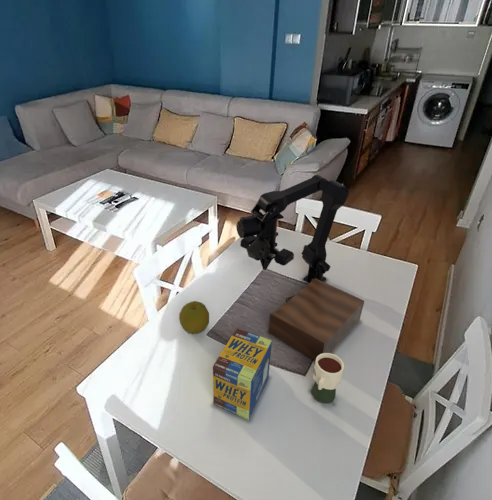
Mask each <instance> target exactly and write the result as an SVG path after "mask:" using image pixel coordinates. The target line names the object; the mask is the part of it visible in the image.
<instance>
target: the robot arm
mask: <svg viewBox="0 0 492 500" xmlns="http://www.w3.org/2000/svg"><path fill="white" fill-rule="evenodd" d="M320 191H321V202H322V208H321V210H320V214H319V217H318V221H317V224H316V227H315V230H314V233H313V237H312V240H311V242H309V243H308V244H304V245H303V249H302V252H301V258H302V260H303V261H304V262H305V263H306V264H307V265H308V270H307V275H305V276H304V277H303V279H302V280H303V281H304V282H307V283H308V284H309V283H310V282H311V280H312V279H315V278H316V279H318V280H320V281H323V282H325V281H326V280H327V277H325V276H324V274H326V273H327V272H329V271H330V270H331V265H330V264H329V263H328V262H326V260H327V255H328V254H327V249H326V248H327V247H326V245H327V242H328V239H329V236H330V233H331V231H332V227H333V224H334V221H335V219H336V215H337V212H338V210H340V208H342V207H343V206H344V205H345V203H346V200H347V199H348V197H349V195H350V190H349V188H348V187H347V186H345V185H344V184H342V183H340V182H338V181H336V180H334V179H331V180H328V179H327V178H326V177H323V176H321V175H319V174H314V175H313V176H312V177H310V178H308V179H306V180H303V181H301V182H299V183H297V184H295V185H292V186H290V187H288V188H285V189H283V190H272V191H268V192H264V193H262V194H261V195H260V196H259V198H258V200H257V202H255V204H254V206H253V207H252V209H251V211H250V213H251V214H252V215H247V216H240V217H239V220H237V223H236V225H235V226H236V227H235V228H236V232H237V235H238V237H239V238H240V242H239V243H240V244H239V246H240V247H241V248H243V249H244V250H246V253H247V256H248V257H249V258H251V259H253V260H255V261H260V265H261V267H262V270H264V271H266V270H267V269H268V268H269V266H270V265H271V263H272V261H273V260H274V262H275V263H276V264H279V265H280V266H286V265H288V264H289V263H290V262H291V261H293V260H294V257H295V253H294V252H293V251H292V250H290V249H286V248H282V249H280V248H278V242H277V241H276V240H277V237H278V236H279V232H278V231H277V227H278V220H281V219H284V218H285V217H284V215H282V214H281V213H283V212H285V210H286V209H287V207H288V206H290V205H291V204H293V203H295V202H297V201H300V200H302V199H304V198H307V197H309V196H312V195H313V194H315V193H317V192H320ZM261 211H262V212H261ZM263 213H264V214H263Z"/></svg>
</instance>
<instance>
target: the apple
mask: <svg viewBox="0 0 492 500" xmlns="http://www.w3.org/2000/svg"><path fill="white" fill-rule="evenodd" d="M178 316H179V317H178V319H179V324H180V326H181V327H182V329H183V330H184V331H185V332H186V333H188V334H191V335H198V334H202V332H204V331H205V330H206V328H208V326H209V324H210V311H209V310H208V308H207V306H206V304H203V302H201V301H197V300H194V301H190V302H188V303H186V304H185V305H183V306H182V308H181V310H180V312H179V315H178Z"/></svg>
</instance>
